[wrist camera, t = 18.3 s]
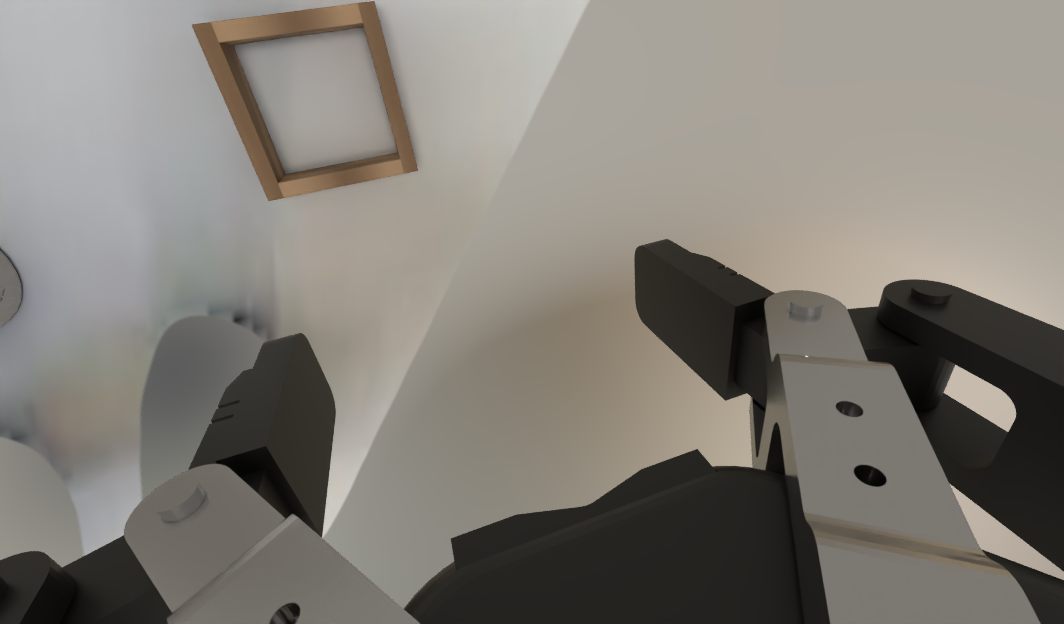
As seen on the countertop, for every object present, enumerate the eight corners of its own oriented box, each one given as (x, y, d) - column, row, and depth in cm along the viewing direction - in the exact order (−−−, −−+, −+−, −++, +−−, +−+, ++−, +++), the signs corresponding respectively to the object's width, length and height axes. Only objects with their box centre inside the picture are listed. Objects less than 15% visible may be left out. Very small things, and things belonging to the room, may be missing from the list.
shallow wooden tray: (276, 190, 33) (268, 201, 31) (207, 28, 28) (191, 24, 26) (414, 163, 35) (418, 170, 33) (374, 6, 30) (374, 1, 28)
